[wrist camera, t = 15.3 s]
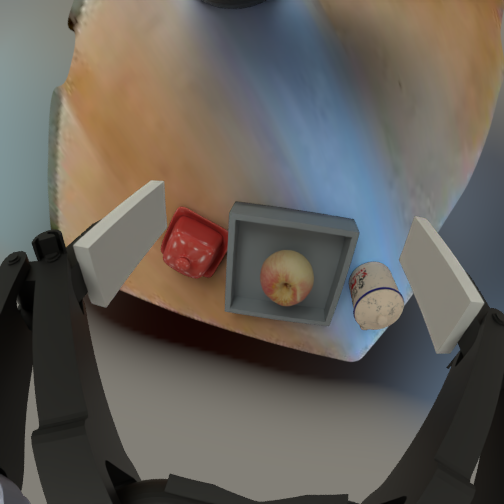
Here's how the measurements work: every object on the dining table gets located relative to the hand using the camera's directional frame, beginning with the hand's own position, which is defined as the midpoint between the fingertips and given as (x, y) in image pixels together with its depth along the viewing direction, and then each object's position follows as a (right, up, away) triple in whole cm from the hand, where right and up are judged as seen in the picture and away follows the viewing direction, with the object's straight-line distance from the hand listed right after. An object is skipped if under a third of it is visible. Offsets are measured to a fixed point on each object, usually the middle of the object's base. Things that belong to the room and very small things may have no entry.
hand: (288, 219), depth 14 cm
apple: (+5, -4, +36) cm, 37 cm away
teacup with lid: (+21, -8, +38) cm, 44 cm away
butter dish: (-12, +1, +38) cm, 40 cm away
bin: (+5, -3, +37) cm, 38 cm away
